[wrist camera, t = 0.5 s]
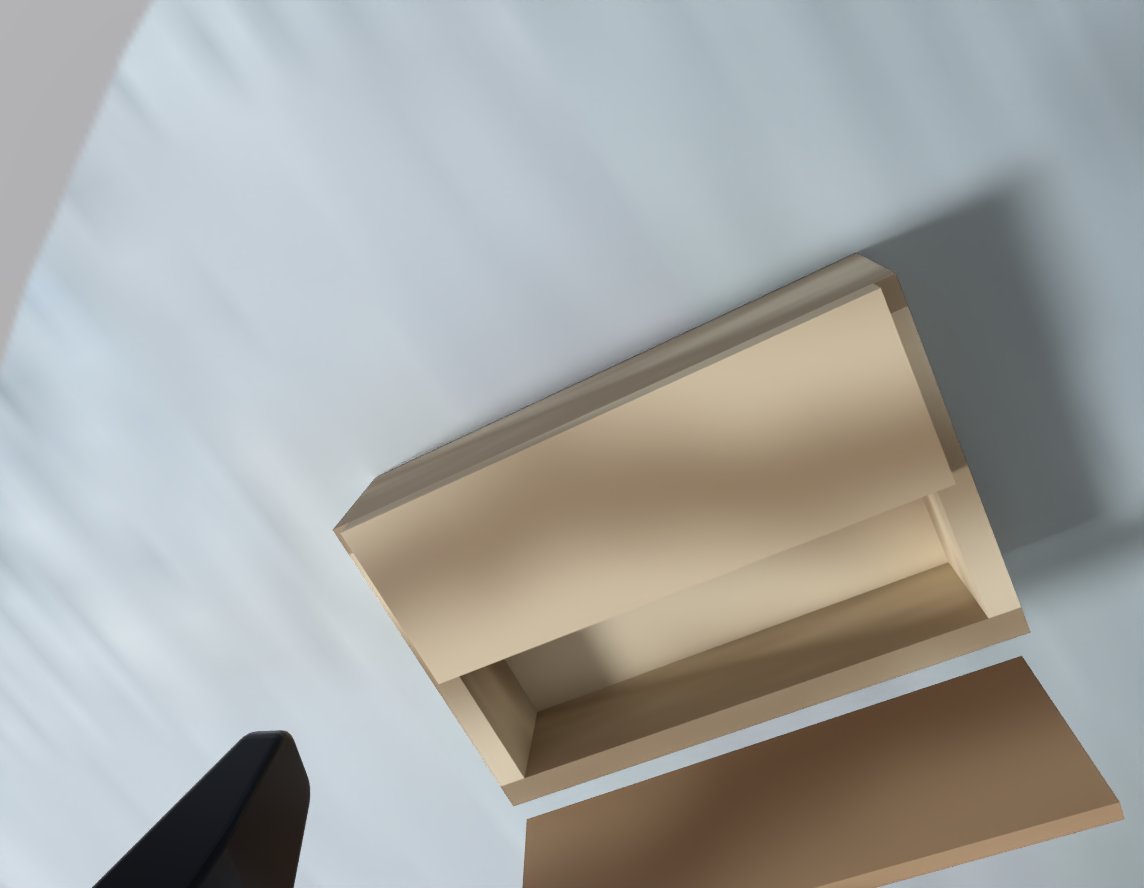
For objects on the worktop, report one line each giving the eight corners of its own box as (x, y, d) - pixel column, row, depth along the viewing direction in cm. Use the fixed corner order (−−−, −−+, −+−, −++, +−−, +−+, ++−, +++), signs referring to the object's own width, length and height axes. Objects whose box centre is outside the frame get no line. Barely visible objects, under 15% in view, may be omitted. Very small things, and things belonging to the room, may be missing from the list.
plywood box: (977, 564, 23) (1041, 646, 20) (529, 725, 27) (510, 821, 23) (856, 252, 21) (903, 277, 17) (375, 477, 24) (324, 540, 20)
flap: (1021, 655, 20) (1027, 671, 20) (526, 819, 23) (536, 831, 23) (1119, 802, 16) (1124, 819, 16) (517, 971, 19) (529, 982, 20)
